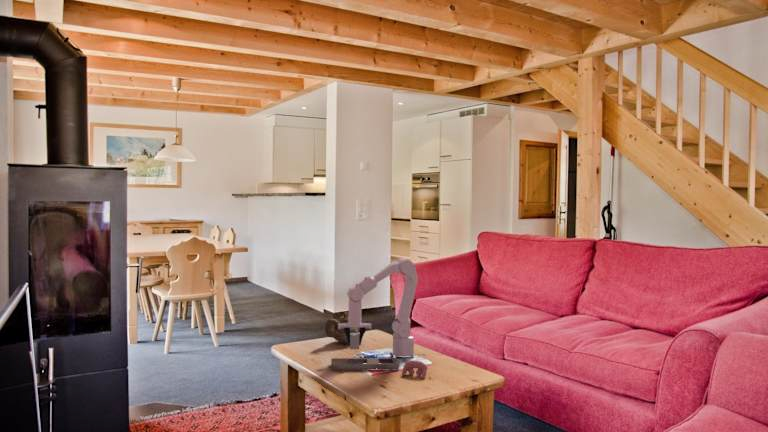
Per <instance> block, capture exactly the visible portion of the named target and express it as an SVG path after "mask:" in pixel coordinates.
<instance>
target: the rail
mask: <svg viewBox="0 0 768 432" xmlns="http://www.w3.org/2000/svg"><path fill="white" fill-rule="evenodd" d="M330 361H331V362H330V363H331V366H330V368H331V369H330V370H331V372H332V371H333V372H335V371H339V372H340V371H342V372H343V371H344V372H345V371H348V372H349V371H368V370H367V369H376V368H377V369H395V370H394V371H399V369H400V368H399V367H400V366H399V365H400V364H399V361H398V358H392V357H371V358H368V357H367V358H366V357H363V358H362V357H359V358H358V357H357V358H356V357H353V358H352V357H351V358H343V357H342V358H341V357H340V358H339V357H338V358H336V357H335V358H331V359H330ZM363 363H367V364H363ZM379 363H381V364H379ZM396 369H397V370H396Z"/></svg>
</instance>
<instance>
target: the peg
mask: <svg viewBox="0 0 768 432" xmlns="http://www.w3.org/2000/svg"><path fill="white" fill-rule="evenodd" d="M349 350H360V345H359V332H357V333H350V345H349Z"/></svg>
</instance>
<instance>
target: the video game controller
mask: <svg viewBox="0 0 768 432" xmlns="http://www.w3.org/2000/svg"><path fill="white" fill-rule="evenodd" d="M415 369H417V370H416V371H415ZM427 371H428V366H427V364H426V363H425V362H422V361H419V360H407V361H406V362H405V363H404V365H403V368H402V371H401V376H403V377H405V376H406V375H407V373H408V374H409V375H414V374H416V375H417V376H418V377H420V376H421V378H422V380H424V379H425V378H426V377H427Z"/></svg>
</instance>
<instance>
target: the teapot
mask: <svg viewBox="0 0 768 432" xmlns="http://www.w3.org/2000/svg"><path fill="white" fill-rule="evenodd" d="M339 320H340V321H339ZM339 320H337V319H334V318H329V319H328V320H327V319H326V322H325V326H324V332H325V335H326V336H327V337H328V338H333V339H334V340H335V341H337V342H339V343H341V344H343V345H344V344H345V345H346V344H348V339H347V336H346V334H345V331H344V329H338V324H342V323H348V312H346V311H344V312H343V315H342V316H340V318H339ZM361 323H363V322H362V321H361ZM332 325H333V326H334V327H332ZM331 328H332V329H331ZM350 333H359V328H355V329H350Z"/></svg>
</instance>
